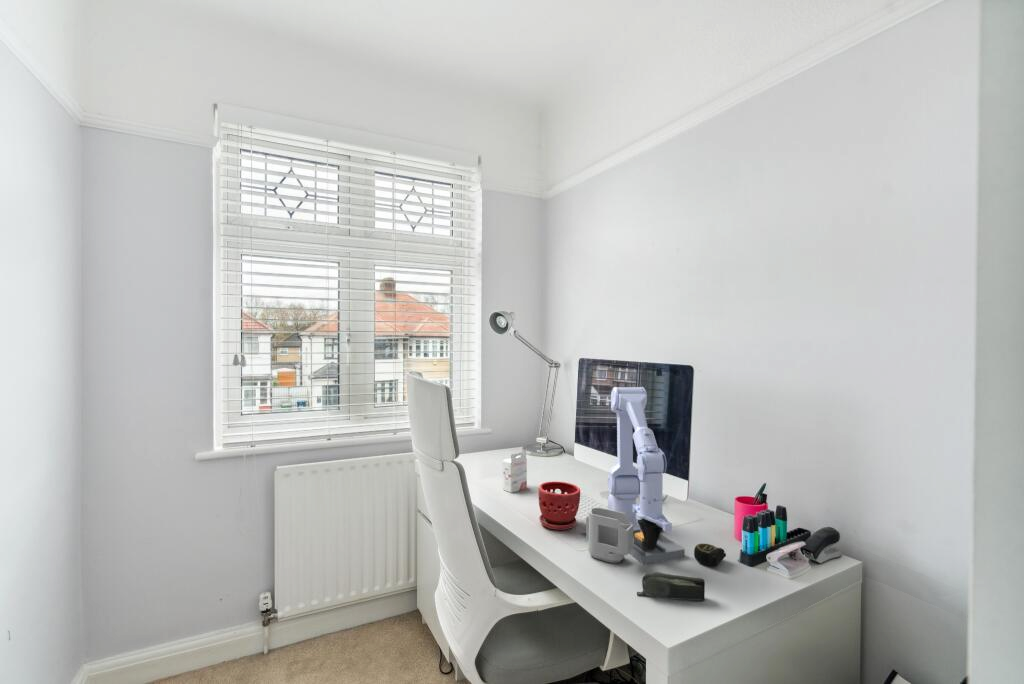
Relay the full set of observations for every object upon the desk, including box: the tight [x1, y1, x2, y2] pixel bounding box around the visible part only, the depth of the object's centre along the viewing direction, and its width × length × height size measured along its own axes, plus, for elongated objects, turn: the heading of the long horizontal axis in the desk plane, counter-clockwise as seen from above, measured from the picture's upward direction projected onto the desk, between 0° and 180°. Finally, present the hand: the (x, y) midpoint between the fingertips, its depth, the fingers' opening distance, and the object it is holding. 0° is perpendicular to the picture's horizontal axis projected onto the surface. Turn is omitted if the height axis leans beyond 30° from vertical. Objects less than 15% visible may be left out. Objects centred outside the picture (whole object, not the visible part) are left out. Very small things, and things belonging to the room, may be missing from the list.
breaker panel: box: [628, 526, 686, 565], centre depth 132 cm, size 17×13×5 cm
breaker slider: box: [633, 532, 650, 551], centre depth 127 cm, size 4×4×3 cm
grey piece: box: [585, 507, 633, 564], centre depth 125 cm, size 7×12×12 cm, turn 56°
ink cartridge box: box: [502, 451, 528, 494], centre depth 182 cm, size 9×5×15 cm, turn 132°
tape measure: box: [693, 543, 727, 567], centre depth 123 cm, size 7×7×4 cm
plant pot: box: [538, 481, 581, 531], centre depth 147 cm, size 13×13×12 cm
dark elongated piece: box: [636, 571, 706, 603], centre depth 106 cm, size 5×3×15 cm
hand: (650, 547), depth 124 cm, fingers closed
